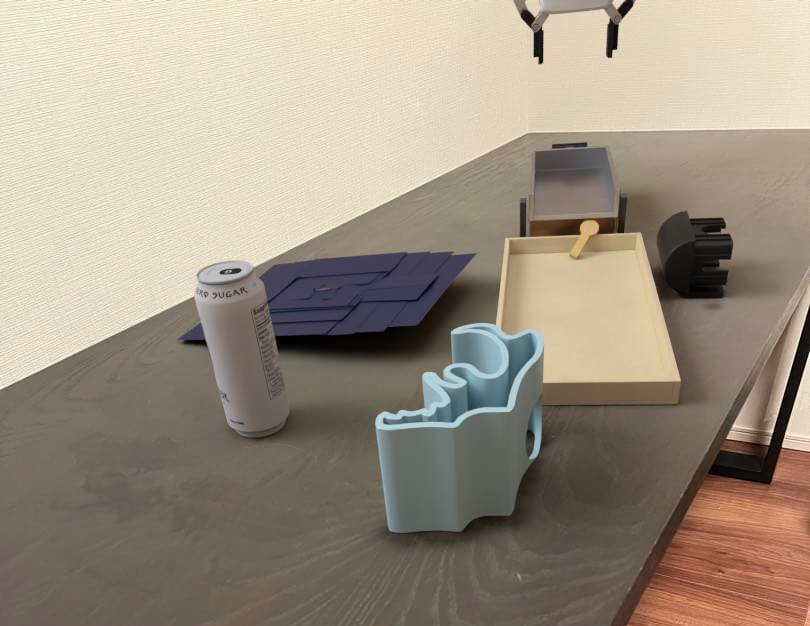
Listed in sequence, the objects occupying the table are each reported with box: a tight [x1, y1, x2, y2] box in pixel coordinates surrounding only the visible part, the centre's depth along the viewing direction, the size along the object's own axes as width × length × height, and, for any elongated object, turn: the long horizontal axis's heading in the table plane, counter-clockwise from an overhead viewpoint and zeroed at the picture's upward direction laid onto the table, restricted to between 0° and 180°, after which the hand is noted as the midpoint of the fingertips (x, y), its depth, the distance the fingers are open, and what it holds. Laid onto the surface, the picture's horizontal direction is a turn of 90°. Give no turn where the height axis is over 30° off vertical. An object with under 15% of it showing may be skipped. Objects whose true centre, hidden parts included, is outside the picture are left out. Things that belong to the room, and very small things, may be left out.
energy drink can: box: [193, 259, 291, 438], centre depth 71 cm, size 6×6×15 cm
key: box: [569, 220, 599, 259], centre depth 101 cm, size 6×2×1 cm
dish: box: [528, 141, 621, 222], centre depth 110 cm, size 11×26×3 cm, turn 172°
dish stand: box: [519, 192, 628, 237], centre depth 111 cm, size 14×19×6 cm
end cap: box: [656, 210, 734, 299], centre depth 91 cm, size 10×7×7 cm
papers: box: [177, 250, 478, 341], centre depth 95 cm, size 24×30×4 cm
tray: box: [495, 232, 682, 406], centre depth 88 cm, size 17×39×2 cm, turn 172°
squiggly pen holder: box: [374, 322, 544, 534], centre depth 64 cm, size 18×10×9 cm, turn 162°
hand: (574, 59), depth 113 cm, fingers open, 9 cm apart
